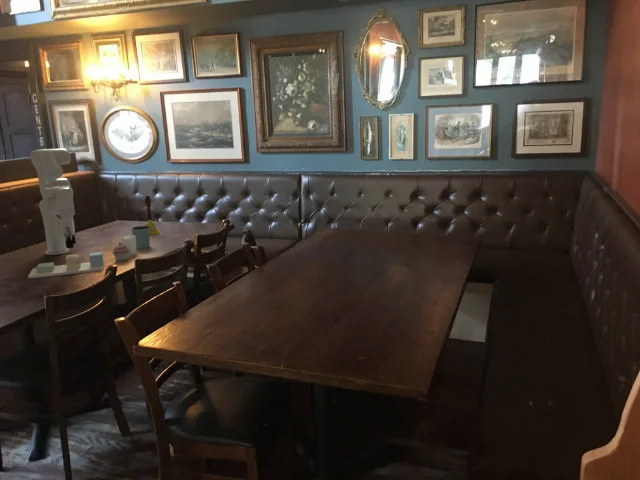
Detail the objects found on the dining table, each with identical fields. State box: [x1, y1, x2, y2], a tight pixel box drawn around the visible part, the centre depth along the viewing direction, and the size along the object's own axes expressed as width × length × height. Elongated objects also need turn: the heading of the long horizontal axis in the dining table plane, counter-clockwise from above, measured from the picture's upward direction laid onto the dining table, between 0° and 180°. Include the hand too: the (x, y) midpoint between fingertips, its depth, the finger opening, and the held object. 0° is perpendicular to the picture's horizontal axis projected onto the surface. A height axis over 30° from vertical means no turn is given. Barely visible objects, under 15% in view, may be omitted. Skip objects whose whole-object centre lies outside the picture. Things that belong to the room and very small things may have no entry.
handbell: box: [144, 195, 162, 237], centre depth 350 cm, size 12×12×25 cm
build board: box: [27, 261, 105, 279], centre depth 273 cm, size 15×34×4 cm, turn 109°
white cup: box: [120, 234, 137, 257], centre depth 301 cm, size 8×8×10 cm
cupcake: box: [111, 242, 130, 263], centre depth 289 cm, size 9×9×10 cm
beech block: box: [65, 253, 82, 270], centre depth 273 cm, size 6×6×6 cm
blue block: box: [88, 251, 105, 267], centre depth 277 cm, size 6×6×6 cm
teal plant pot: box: [131, 225, 151, 250], centre depth 316 cm, size 10×10×12 cm
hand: (71, 245), depth 271 cm, fingers open, 9 cm apart
